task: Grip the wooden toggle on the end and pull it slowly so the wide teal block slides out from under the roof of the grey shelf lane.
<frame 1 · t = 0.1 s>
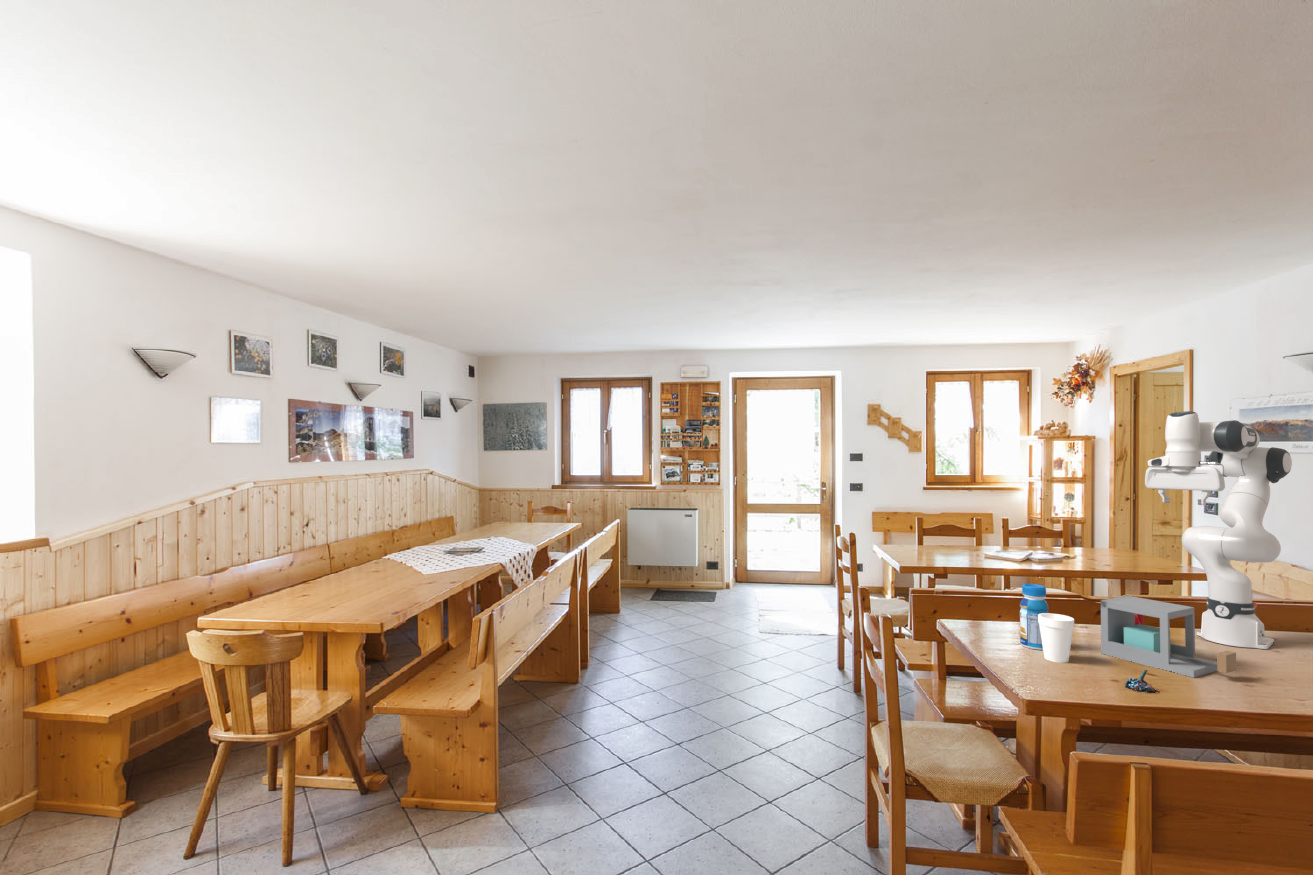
hand: (1183, 504, 200), 48 cm above the table, tool pointing down, fingers open, 8 cm apart
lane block: (1178, 647, 186), point 6 cm above the table, slide at 0.0 cm
blue bumpy stemmed lump: (1141, 691, 167), on the table
soda can: (1130, 641, 213), on the table
shelf lane: (1166, 663, 189), on the table
beverage bottle: (1034, 647, 205), on the table
foam cup: (1056, 659, 192), on the table
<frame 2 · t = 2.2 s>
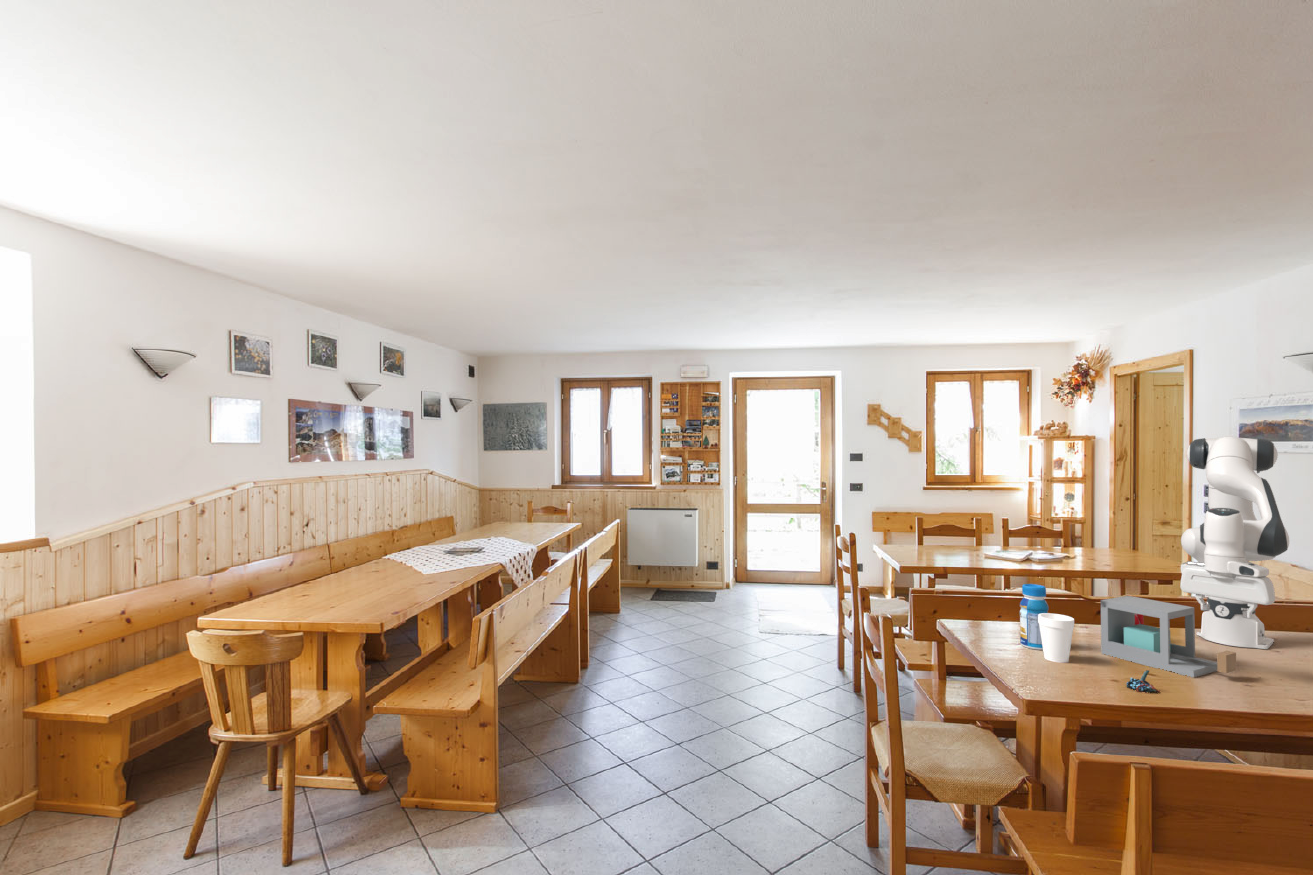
hand: (1225, 614, 176), 18 cm above the table, tool pointing down, fingers open, 8 cm apart
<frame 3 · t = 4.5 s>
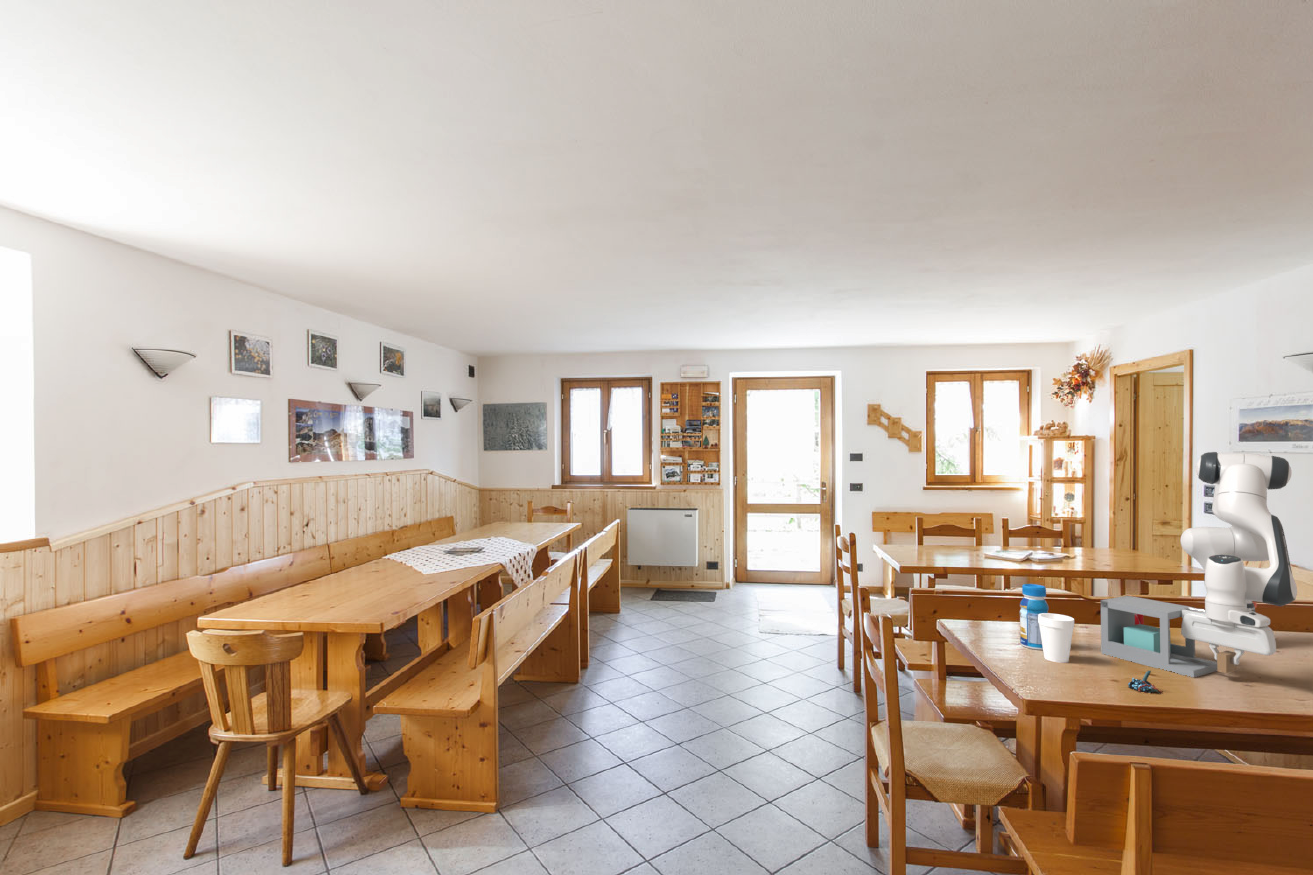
hand: (1226, 662, 176), 5 cm above the table, tool pointing down, fingers closed on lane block, 2 cm apart
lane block: (1178, 647, 186), point 6 cm above the table, slide at 0.0 cm, touching gripper
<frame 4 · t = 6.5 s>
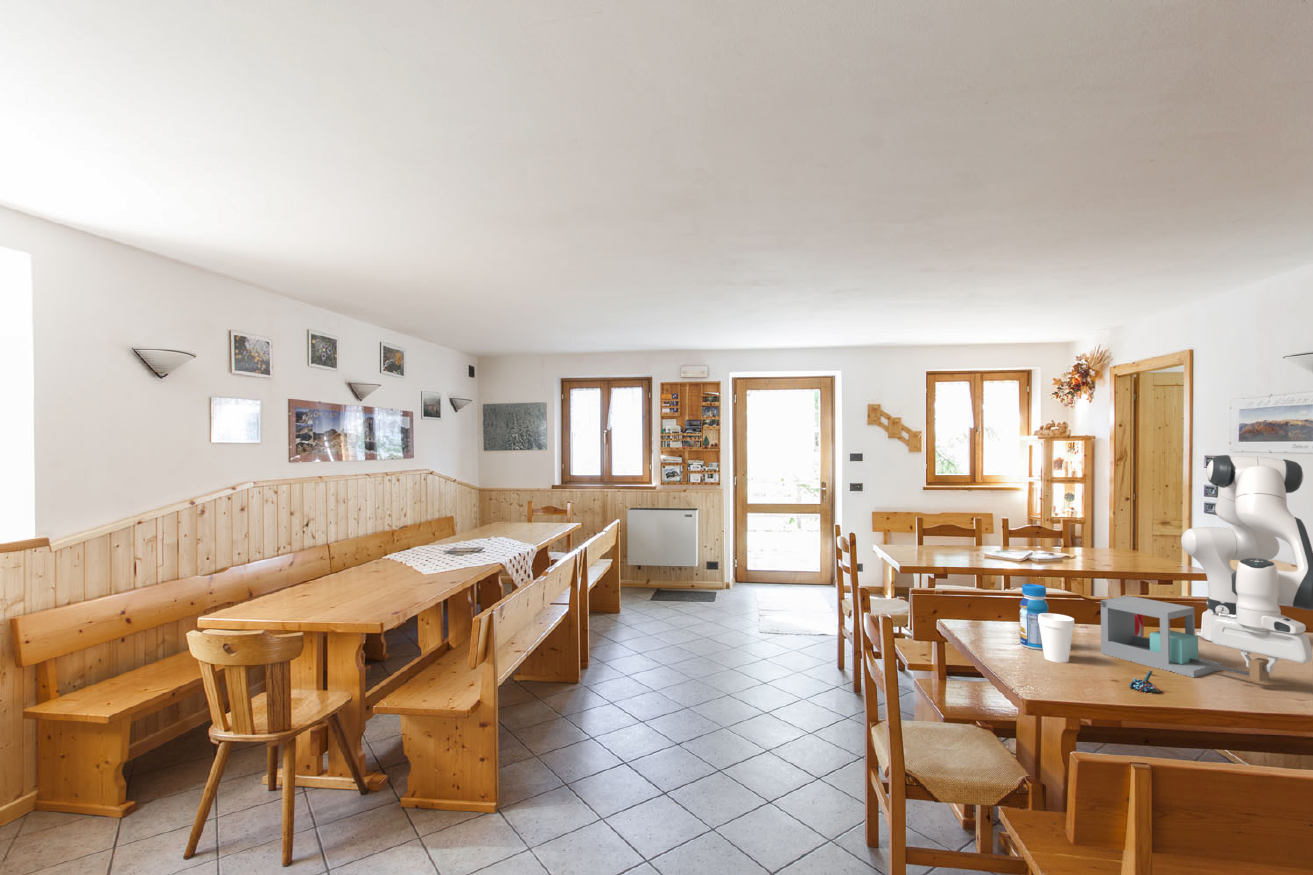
hand: (1259, 669, 170), 5 cm above the table, tool pointing down, fingers closed on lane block, 2 cm apart
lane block: (1207, 653, 180), point 6 cm above the table, slide at 7.0 cm, touching gripper
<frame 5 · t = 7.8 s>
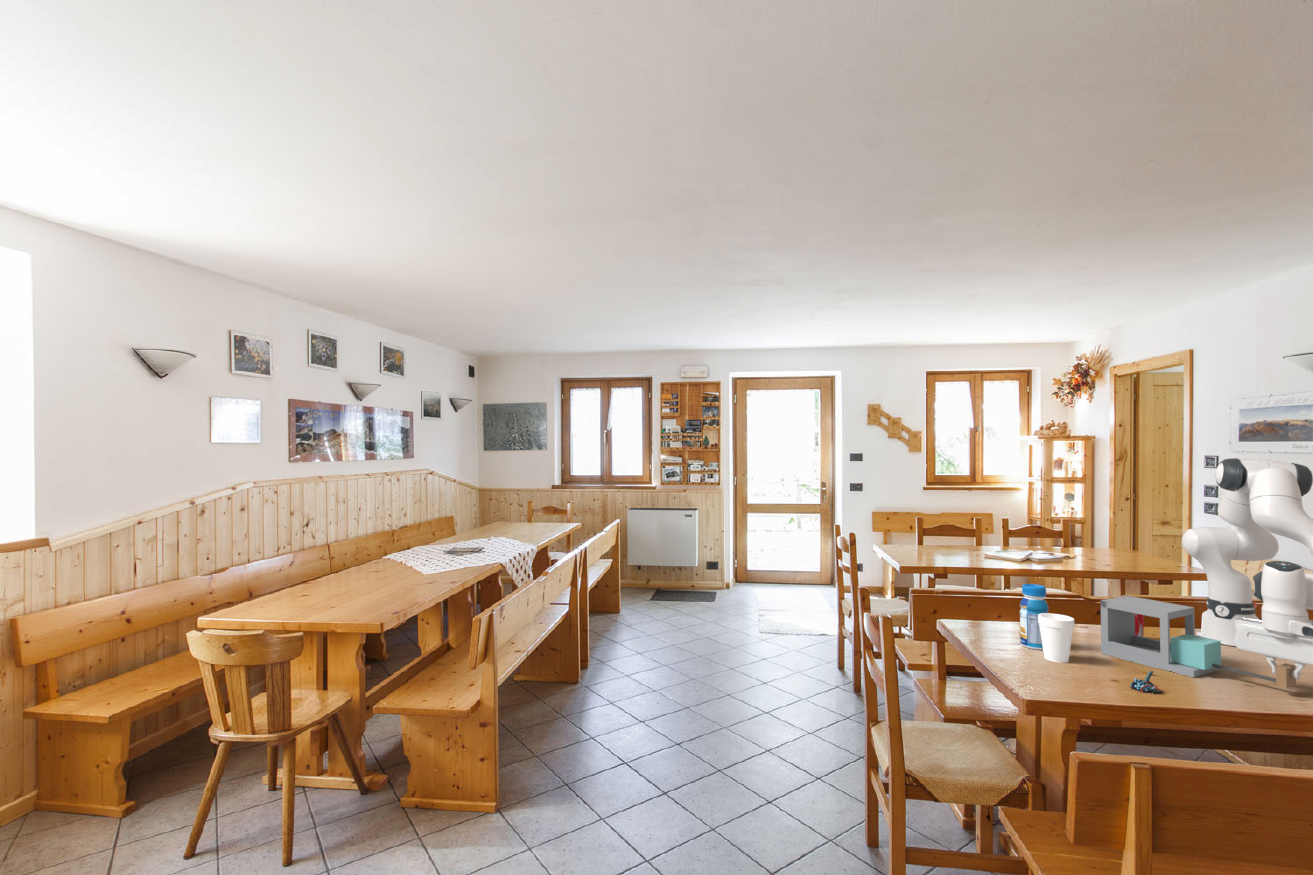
hand: (1286, 675, 165), 5 cm above the table, tool pointing down, fingers closed on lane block, 2 cm apart
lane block: (1231, 659, 175), point 6 cm above the table, slide at 12.4 cm, touching gripper
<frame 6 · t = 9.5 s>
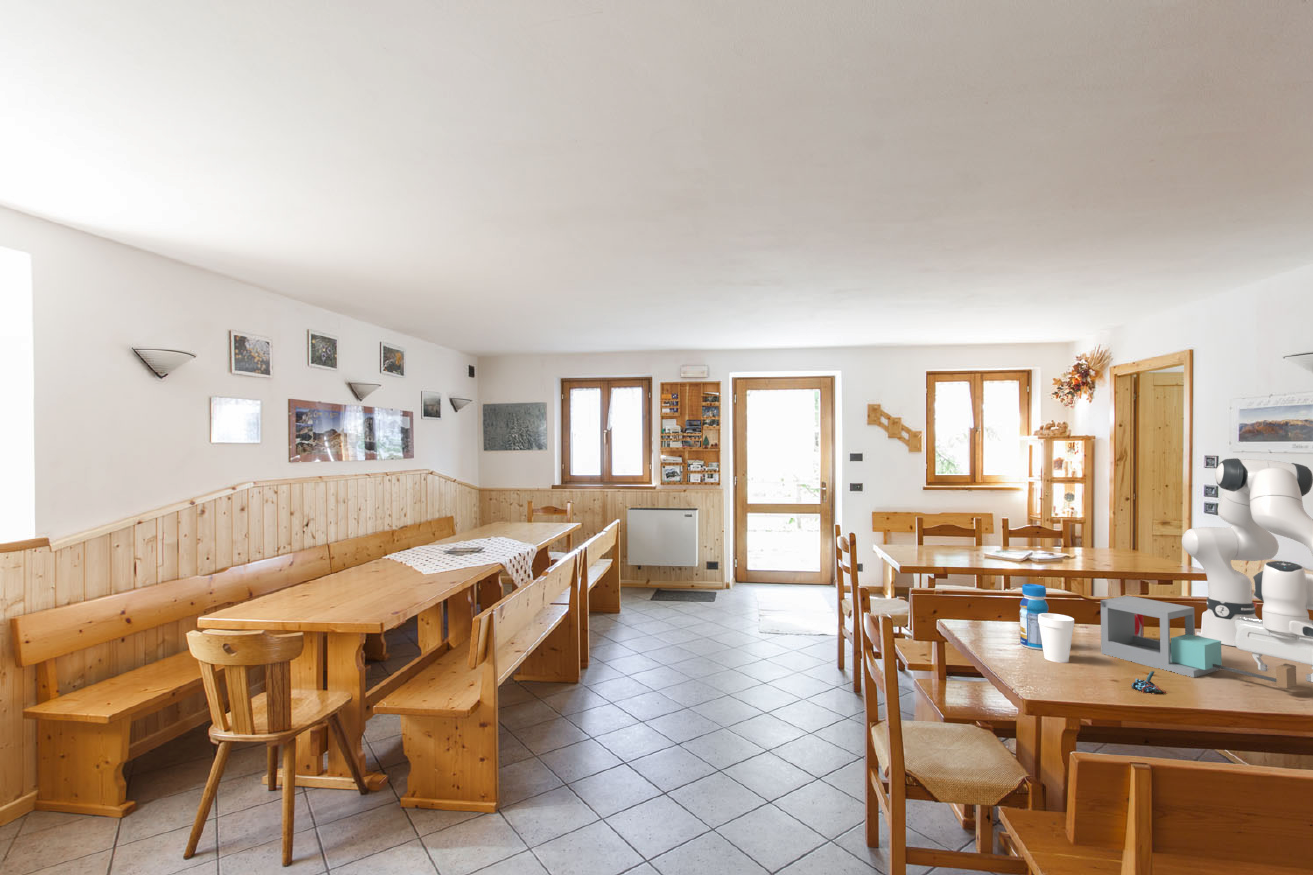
hand: (1286, 676, 165), 5 cm above the table, tool pointing down, fingers open, 8 cm apart
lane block: (1232, 659, 175), point 6 cm above the table, slide at 12.5 cm
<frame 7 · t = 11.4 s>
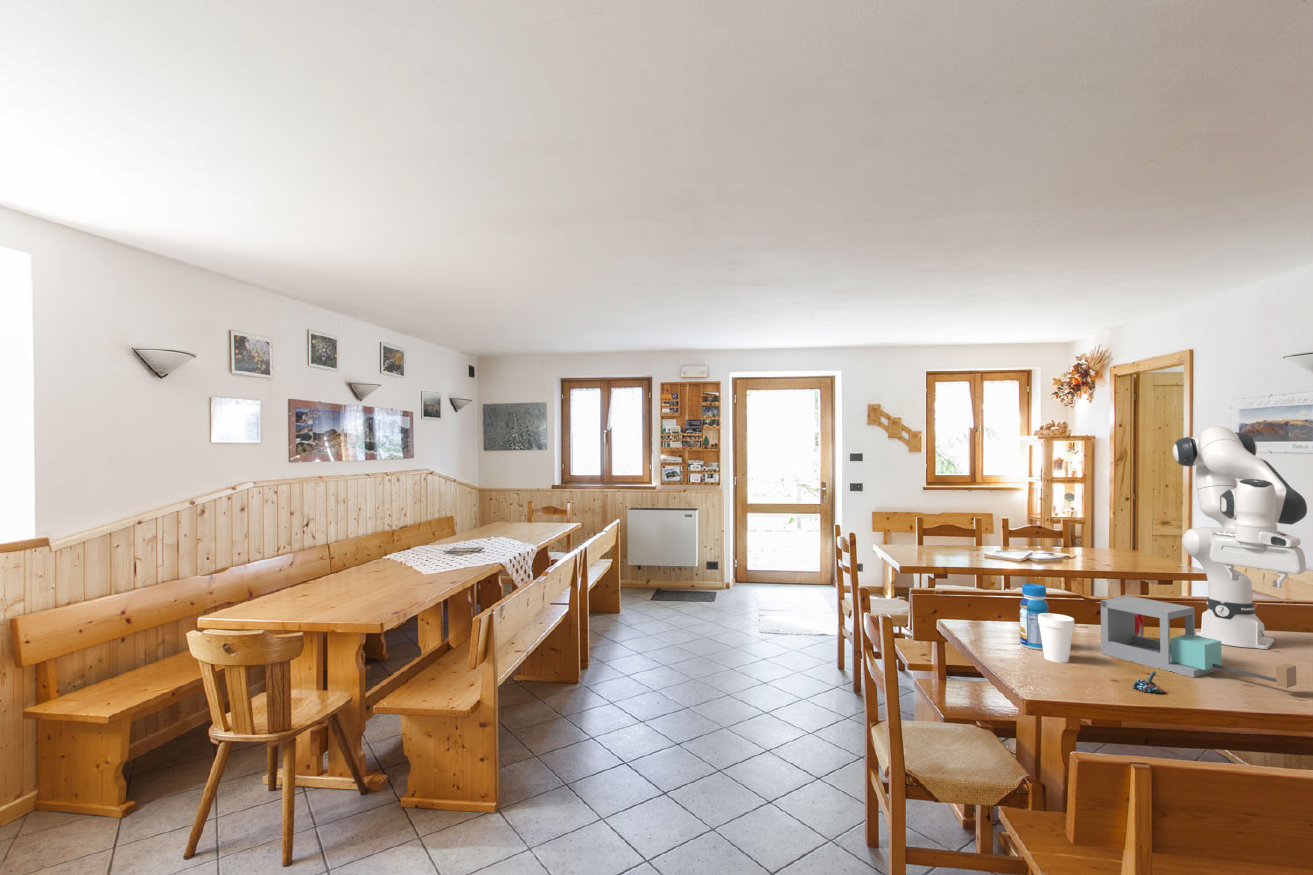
hand: (1255, 583, 179), 26 cm above the table, tool pointing down, fingers open, 8 cm apart
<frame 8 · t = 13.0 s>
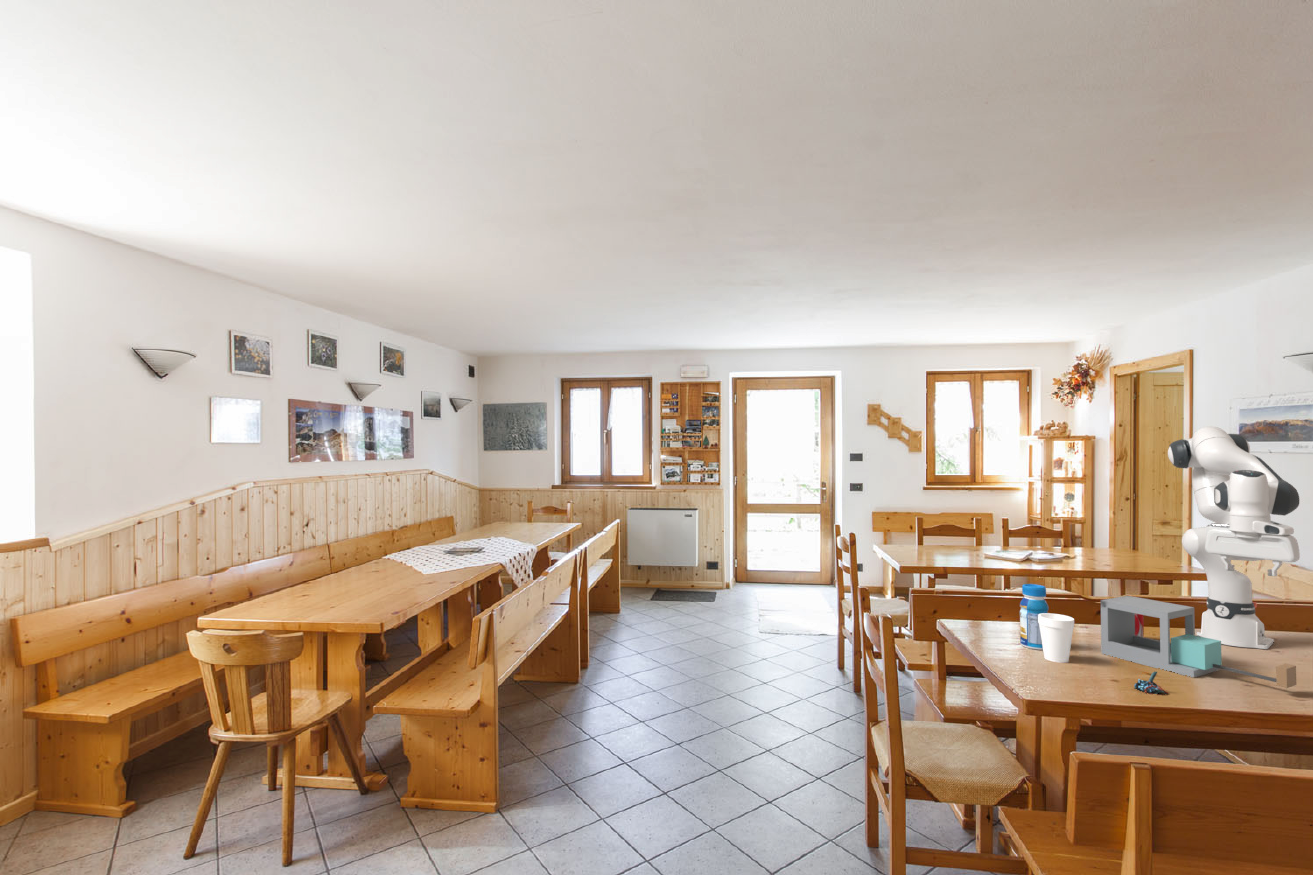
hand: (1250, 573, 181), 29 cm above the table, tool pointing down, fingers open, 8 cm apart
at the end: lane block slide at 12.5 cm; the gripper is holding nothing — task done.
